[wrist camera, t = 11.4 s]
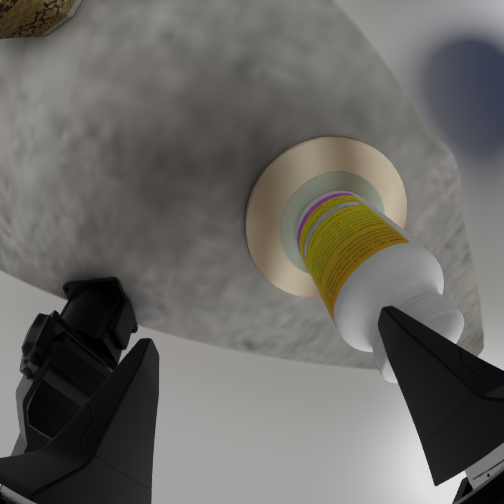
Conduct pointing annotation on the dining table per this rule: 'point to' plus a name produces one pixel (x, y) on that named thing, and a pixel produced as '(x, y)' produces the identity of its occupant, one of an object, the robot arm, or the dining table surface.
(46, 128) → the dining table surface
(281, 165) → the round tan coaster
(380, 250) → the supplement bottle
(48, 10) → the ceramic cup
